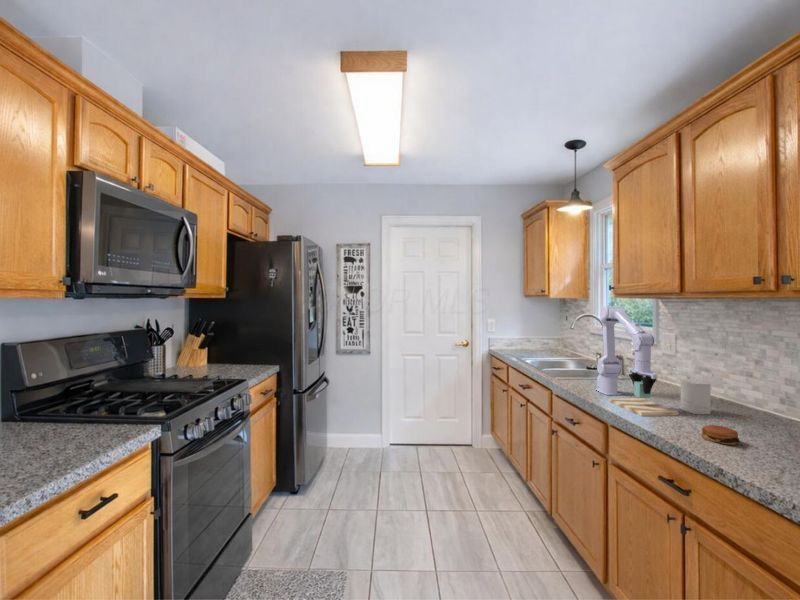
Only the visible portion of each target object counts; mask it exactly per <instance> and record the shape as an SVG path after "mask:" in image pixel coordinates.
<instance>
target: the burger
mask: <svg viewBox="0 0 800 600" xmlns="http://www.w3.org/2000/svg"><path fill="white" fill-rule="evenodd" d="M701 430H702V432H701V437H702V438H703V440H706V441H708V440H709V442H711V441H712V443H716V442H717V444H720V443H721V445H728V446H731V445H733V446H735V445H736V446H737V445H738V444H740V442H741V440H740V438H739V433H738V431H736V430H735V429H732V428H730V427H726V426H723V425H715V424H708V425H707V424H706V425H705V426H702V428H701Z"/></svg>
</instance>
